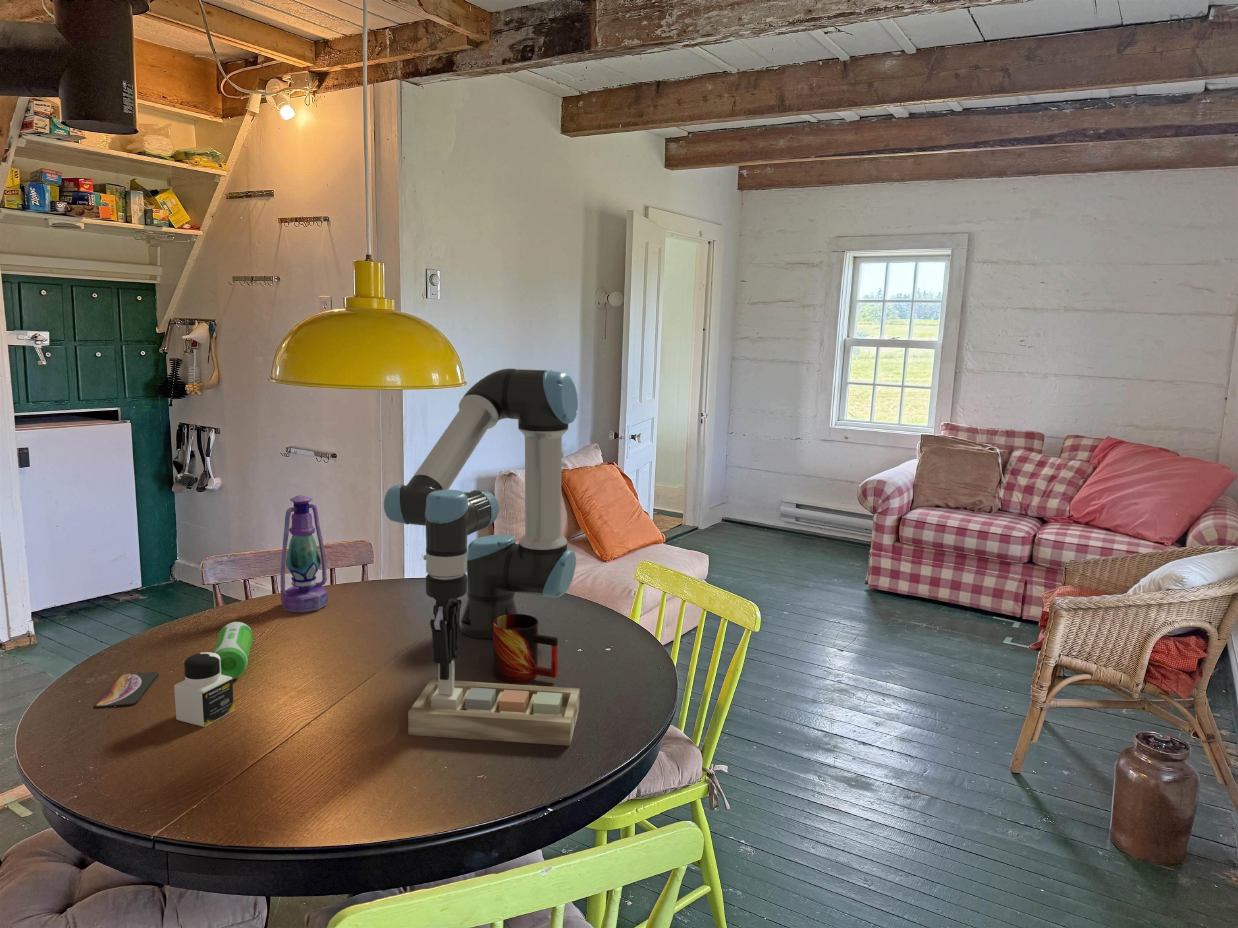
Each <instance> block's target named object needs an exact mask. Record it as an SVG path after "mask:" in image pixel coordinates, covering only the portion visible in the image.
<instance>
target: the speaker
mask: <svg viewBox="0 0 1238 928" xmlns="http://www.w3.org/2000/svg"><path fill="white" fill-rule="evenodd" d="M253 641H254V635H253V631H252V629H251V627H250V626H249V625H248V624H247V623H245V622H242V621H232V622H230V623H227V624H226V625H224V626H223V627H222V628H221V629H220V631H218V634H217V640H216V643H215V645H214V649H213V652H212V653H216V654H218V655H219V656H220V662H221V675H225V676H230V677H232V681H233V680H235V679H237V678H239V677H240V676H241V675H242V674H243V673H244V672H245V671H246V669H247V668H248V663H249V655H250V651H251V647H252V644H253Z"/></svg>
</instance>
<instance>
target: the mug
mask: <svg viewBox="0 0 1238 928" xmlns="http://www.w3.org/2000/svg"><path fill="white" fill-rule="evenodd" d="M558 640H559V638H558V637H555V636H550V635H543V634H539V620H538V618H536V617H535V616H532V615H529V614H522V613H520V614H508V615H503V616H500V617H498V618H496V619H495V620H494V621H493V639H492V677H493V679H494V680H496V681H498V682H500V683H502V684H515V685H520V684H524V683H525V684H526V683H528V682H531V681H533V680H535V679H536V678H537V676H542V677H547V678H548V677H549V678H552V679H556V678H558V663H559V661H558V647H559V645H558V642H559V641H558ZM539 644H541V645H547V646H551V659H550V660H551V664H550V668H549V667H544V666H538V665H539V663H538V661H539V651H538V650H539Z"/></svg>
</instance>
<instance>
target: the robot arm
mask: <svg viewBox="0 0 1238 928" xmlns="http://www.w3.org/2000/svg"><path fill="white" fill-rule="evenodd" d="M578 400H579V399H578V393H577V388H576V385H575V383H574V381H573V378H572V377H571V376H570V375H569V374H567V373H565V372H563V371H557V370H551V369H550V370H549V369H547V370H546V369H520V368H519V369H517V368H503V369H499V370H495V371H494V372H491V373H489V374H488V375H486V376H484V377H483V378H481V379H480V380H478V381H477V382H475V383H474V384H473V385H472V386H471V387H470V388H469V389H468V390H467V391H466V392H465V394H464V395H463V397H462V398H461V399H460V400H459V403H458V410H459V411H458V412H457V413H456V415H455V416H454V417H453V419H452V420H451V422H450V423H449V425H448V426H447V427H446V429H445V430H444V432H442V435H441V436H440V437H439V439H438V440H437V442H436V443H435V444H434V446H433V447H432V448H431V450H430V452H429V453H428V455H427V456H426V458H425V459H424V460H423V461H422V463H421V465H420V466H419V467H418V469H417V471H416V472H415V473H414V475H413V476H412V477H411V479H410V480H409V481H408V483H407V484H406V485H405V484H401V485H400V484H396V485H393V486H391V487H389V489H387V492H385V496H384V499H383V510H384V513H385V516H386V517H387V519H388V520H390V521H392V522H396V523H400V524H404V525H414V526H425V544H426V545H425V555H424V556H423V560H424V561H425V570H426V571H425V572H426V574H427V575H426V576H425V594H426V595H427V596H428V597H429V598H433V600H435V604H434V605H433V610H432V612H433V613H432V614H433V615H434V619H430V621H429V625H430V629H431V635H432V638H431V639H432V645H433V646H432V647H433V658H434V659H433V661H432V662H433V663H434V664H438V665H437V666H438V667H437V669H438V670H437V673H438V675H437V678H438V679H437V680H438V694H446V695H452V694H453V693H454V681H455V659H459V657H460V653H456V652H457V651H458V649H459V634H460V632H461V633H462V634H464V635H466V636H468V637H472V638H475V639H486V640H488V639H489V640H493V621H494V620H495V619H496V618H498V617H500V616H503V615H508V614H521V613H520V611H519V607H518V603H517V600H516V597H515V593H519V594H526V595H532V596H539V597H542V598H547V597H549V598H560V597H562V596H564V595H565V594H566V593H567V591H568V590H569V588H570V586H571V585H572V582H573V578H574V575H575V571H576V566H577V556H576V553H575V551H574V550H572V549H568V538H566V537H565V536H564V535H563V534H562V460H563V459H562V458H563V457H562V456H563V455H562V449H563V448H562V447H563V445H562V443H563V442H562V441H563V435H564V434H566V432H568V431H569V425H570V423H573V422H575V419H576V417H577V414H578V413H577V411H578V409H579V408H578V406H579V401H578ZM504 419H510V420H517V423H518V424H517V426H518V427H517V428H518V430H519V431H520V432H521V433H522V435H523V436H524V535H522V537H520V539H518V543H516V542H517V540H516V537H515V536H514V535H512V534H506V533H505V534H503V533H501V534H492V535H484V536H481V537H478V538H476V539H473V540H471V541H470V543H469V544H468V536H469V535H471V534H473V533H476V532H478V531H481V530H483V529H484V530H485V529H486V528H487V527H489V525H491V524H493V523H494V522H495V521H496V520H497V518H498V516H499V513H500V505H499V501H498V500H497V498H496V496H495V495H494V494H493V493H492V492H490V491H488V490H486V489H474V490H471V491H469V492H466V491H462V490H459V489H458V490H457V489H450V487H451V486H452V485H453V484H454V482H455V480H456V479H457V477H458V475H459V474H460V472H461V471H462V470H463V468H464V466H465V464H466V463H467V462H468V461H469V459H470V457H471V455H472V454H473V452H474V451H475V450H476V447H477V446H478V445H479V443H480V442H481V440H482V438H483V437H484V436H485V434H486V433H487V430H490V429H492V428H494V427H495V426H496V425H497V424H498V423H499V421H502V420H504ZM466 594H467V595H466ZM465 595H466V598H467V599H466V601H465V604H464V607H463V610H462V609H461V607H462V603H463V602H462V599H458V598H462V597H463V596H465ZM461 610H462V613H461Z"/></svg>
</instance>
